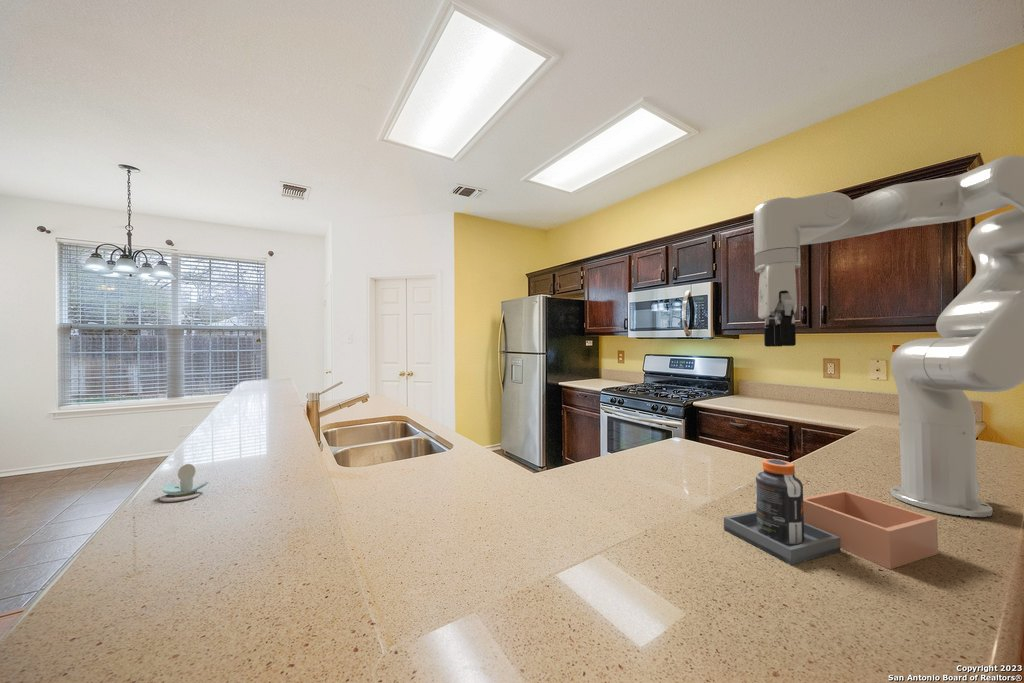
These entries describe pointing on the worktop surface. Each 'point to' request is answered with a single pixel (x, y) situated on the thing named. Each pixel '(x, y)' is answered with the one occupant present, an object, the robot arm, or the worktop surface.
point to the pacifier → (182, 485)
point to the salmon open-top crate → (873, 527)
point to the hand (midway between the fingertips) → (779, 346)
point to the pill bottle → (779, 502)
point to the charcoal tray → (810, 548)
